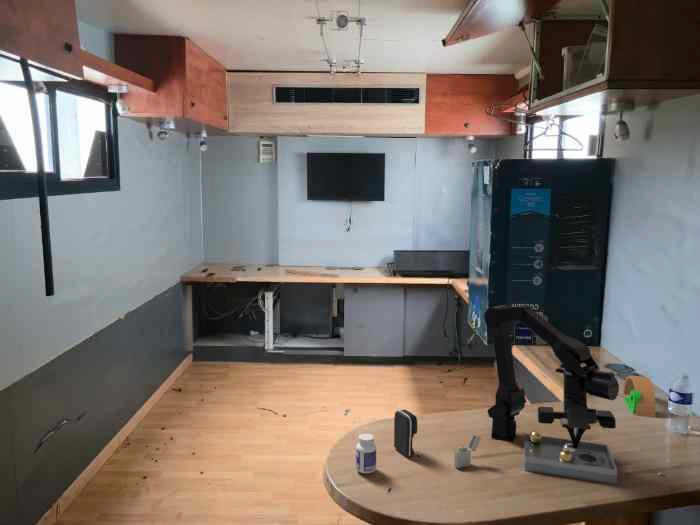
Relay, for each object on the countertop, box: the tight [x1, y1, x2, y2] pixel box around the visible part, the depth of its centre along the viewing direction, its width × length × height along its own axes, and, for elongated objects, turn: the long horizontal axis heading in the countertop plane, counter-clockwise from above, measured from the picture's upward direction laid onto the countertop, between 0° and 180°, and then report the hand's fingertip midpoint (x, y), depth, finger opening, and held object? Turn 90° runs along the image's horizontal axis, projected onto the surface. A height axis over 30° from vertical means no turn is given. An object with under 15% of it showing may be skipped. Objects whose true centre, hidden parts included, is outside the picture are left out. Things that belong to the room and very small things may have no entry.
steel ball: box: [562, 443, 576, 456], centre depth 143 cm, size 3×3×3 cm
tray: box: [523, 432, 619, 486], centre depth 143 cm, size 22×15×4 cm
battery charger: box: [393, 409, 418, 457], centre depth 149 cm, size 7×4×11 cm, turn 30°
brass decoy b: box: [559, 450, 573, 463], centre depth 139 cm, size 3×3×3 cm
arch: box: [622, 374, 656, 419], centre depth 183 cm, size 6×20×10 cm, turn 164°
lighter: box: [453, 433, 482, 469], centre depth 142 cm, size 7×2×8 cm, turn 111°
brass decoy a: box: [529, 430, 543, 443], centre depth 150 cm, size 3×3×3 cm
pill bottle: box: [355, 433, 377, 474], centre depth 139 cm, size 5×5×9 cm
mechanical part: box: [623, 390, 641, 415], centre depth 180 cm, size 12×6×8 cm, turn 166°
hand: (575, 448), depth 142 cm, fingers closed, pressing on steel ball
